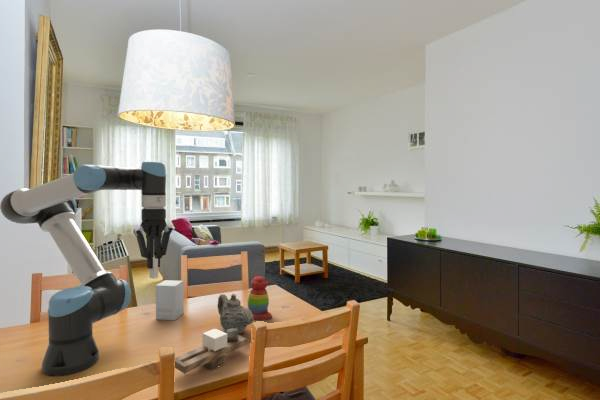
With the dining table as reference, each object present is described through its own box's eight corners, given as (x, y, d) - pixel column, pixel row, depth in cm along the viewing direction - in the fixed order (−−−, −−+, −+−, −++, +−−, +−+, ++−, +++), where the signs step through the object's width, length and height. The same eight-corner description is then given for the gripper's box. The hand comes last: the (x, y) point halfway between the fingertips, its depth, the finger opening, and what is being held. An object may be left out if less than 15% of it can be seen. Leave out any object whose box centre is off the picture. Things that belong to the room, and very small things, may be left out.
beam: (184, 383, 99) (184, 356, 99) (171, 375, 103) (171, 349, 103) (247, 353, 118) (247, 330, 118) (233, 346, 123) (233, 324, 122)
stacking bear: (273, 318, 149) (273, 278, 149) (250, 321, 146) (251, 280, 145) (266, 310, 159) (266, 272, 159) (245, 313, 156) (245, 274, 155)
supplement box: (184, 313, 154) (184, 280, 154) (175, 320, 145) (175, 286, 145) (165, 312, 155) (165, 279, 155) (155, 319, 146) (155, 285, 146)
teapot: (262, 334, 133) (262, 296, 133) (238, 344, 124) (239, 303, 124) (229, 319, 147) (229, 285, 147) (205, 327, 139) (206, 291, 138)
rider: (214, 357, 108) (214, 338, 107) (202, 351, 112) (202, 333, 111) (227, 351, 112) (227, 333, 111) (214, 345, 116) (215, 328, 115)
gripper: (140, 209, 107) (140, 283, 108) (177, 207, 117) (177, 275, 118) (128, 208, 112) (129, 279, 113) (165, 206, 122) (165, 272, 123)
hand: (153, 277), depth 115 cm, fingers closed
